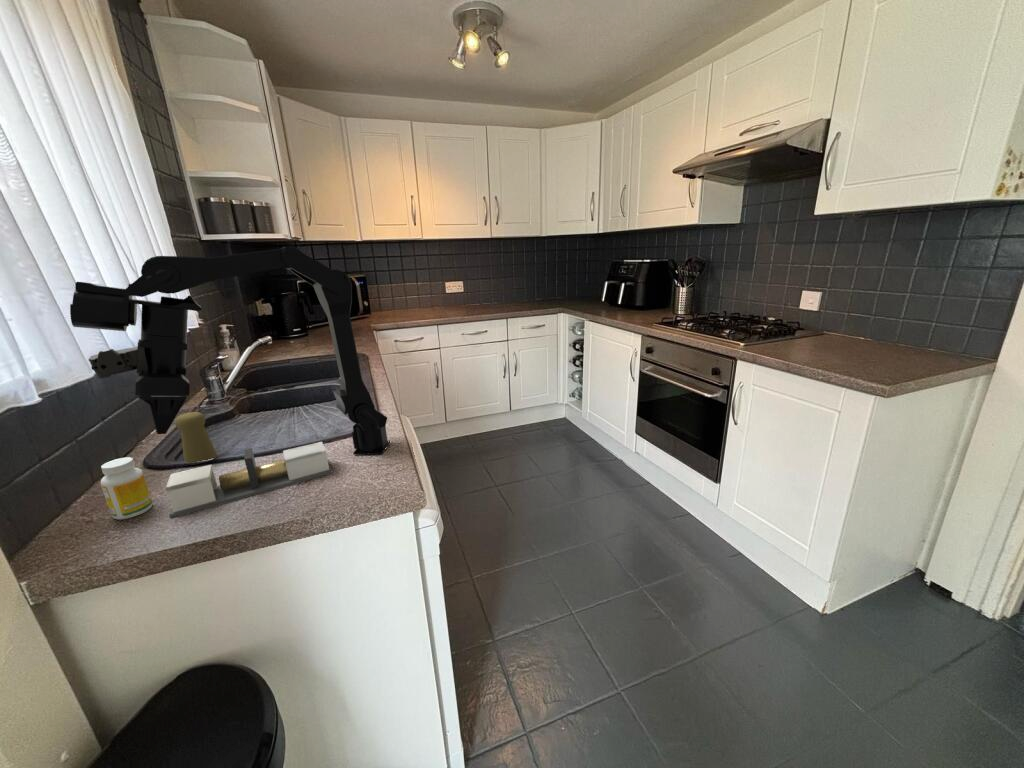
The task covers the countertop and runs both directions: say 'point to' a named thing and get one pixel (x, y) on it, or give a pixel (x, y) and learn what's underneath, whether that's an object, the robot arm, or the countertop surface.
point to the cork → (194, 437)
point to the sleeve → (306, 460)
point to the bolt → (252, 473)
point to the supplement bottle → (125, 488)
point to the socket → (191, 488)
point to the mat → (249, 491)
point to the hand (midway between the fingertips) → (161, 425)
